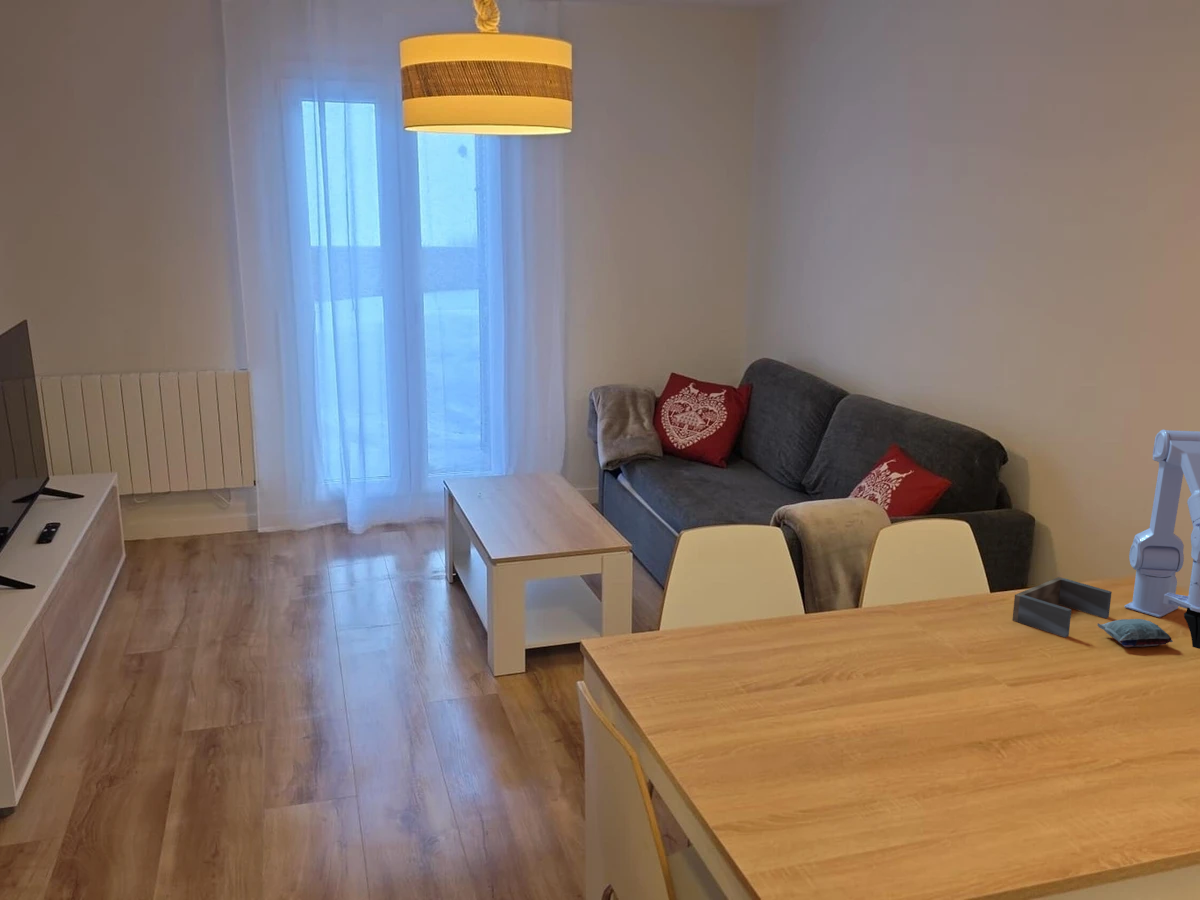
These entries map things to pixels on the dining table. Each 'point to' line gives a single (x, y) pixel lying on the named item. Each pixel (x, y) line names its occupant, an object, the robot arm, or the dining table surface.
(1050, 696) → the dining table surface
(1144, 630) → the packaged food
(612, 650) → the dining table surface
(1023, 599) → the grey u-shaped bracket
